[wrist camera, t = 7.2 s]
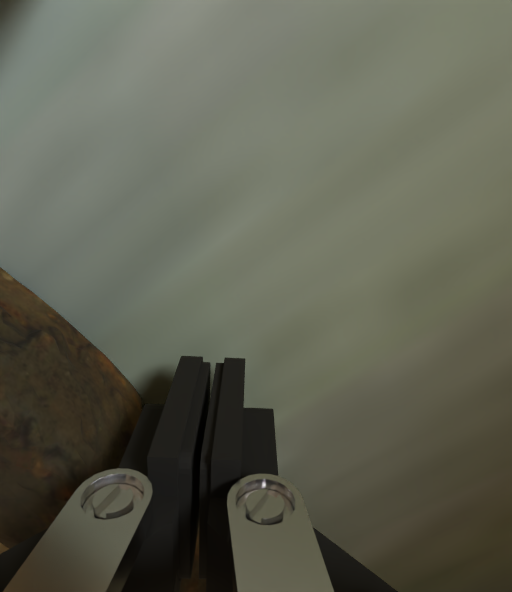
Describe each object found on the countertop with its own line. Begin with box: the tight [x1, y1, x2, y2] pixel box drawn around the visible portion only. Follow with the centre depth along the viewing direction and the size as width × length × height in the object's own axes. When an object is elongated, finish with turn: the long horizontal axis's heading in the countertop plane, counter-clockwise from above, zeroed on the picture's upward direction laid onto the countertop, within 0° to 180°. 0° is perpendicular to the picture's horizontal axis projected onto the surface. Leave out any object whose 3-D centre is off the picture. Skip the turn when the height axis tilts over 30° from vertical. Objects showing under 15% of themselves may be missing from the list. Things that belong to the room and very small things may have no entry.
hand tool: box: [0, 268, 206, 592], centre depth 12 cm, size 19×4×5 cm, turn 25°
